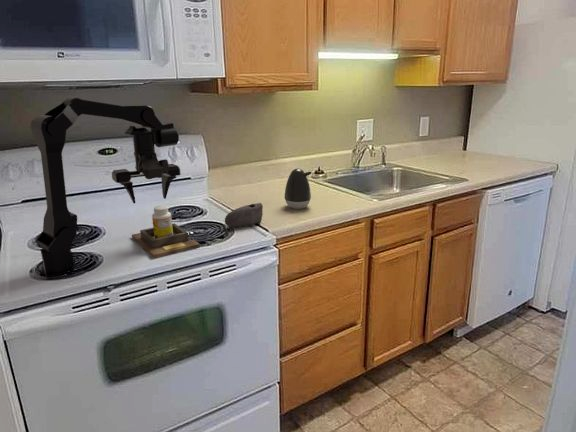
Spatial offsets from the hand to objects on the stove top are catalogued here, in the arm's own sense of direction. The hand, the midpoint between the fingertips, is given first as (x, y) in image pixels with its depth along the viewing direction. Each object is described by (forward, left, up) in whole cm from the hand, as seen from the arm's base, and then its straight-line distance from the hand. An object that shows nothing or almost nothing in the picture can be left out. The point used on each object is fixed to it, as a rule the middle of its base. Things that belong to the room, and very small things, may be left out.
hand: (149, 200), depth 130 cm
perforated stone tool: (+30, -5, -13) cm, 33 cm away
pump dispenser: (+57, +1, -13) cm, 59 cm away
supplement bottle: (+2, -4, -12) cm, 13 cm away
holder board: (+2, -4, -13) cm, 13 cm away
